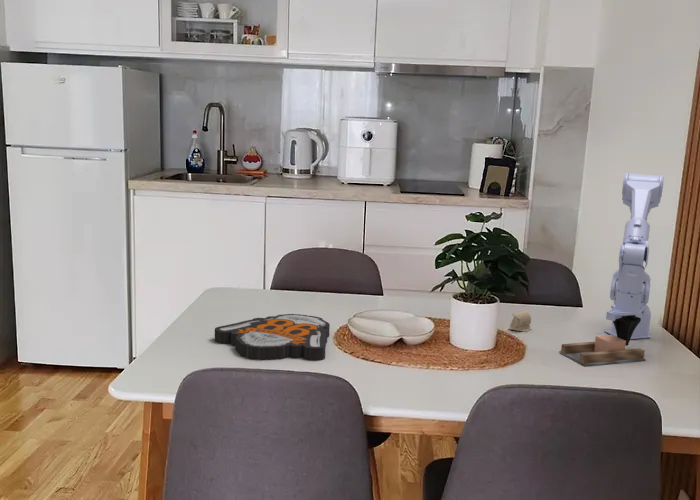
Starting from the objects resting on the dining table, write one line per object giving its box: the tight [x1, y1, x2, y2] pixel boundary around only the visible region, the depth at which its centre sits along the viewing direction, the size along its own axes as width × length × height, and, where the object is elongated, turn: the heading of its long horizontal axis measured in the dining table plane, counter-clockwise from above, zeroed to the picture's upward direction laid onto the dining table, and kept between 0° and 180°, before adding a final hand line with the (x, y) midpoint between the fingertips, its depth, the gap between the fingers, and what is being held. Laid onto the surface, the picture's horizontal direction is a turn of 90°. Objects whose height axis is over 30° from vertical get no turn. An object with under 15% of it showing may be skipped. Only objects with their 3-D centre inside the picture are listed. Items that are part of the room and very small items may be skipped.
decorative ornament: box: [507, 310, 532, 333], centre depth 195 cm, size 4×8×5 cm, turn 127°
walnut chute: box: [558, 341, 647, 368], centre depth 175 cm, size 18×10×2 cm, turn 110°
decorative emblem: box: [214, 313, 330, 362], centre depth 176 cm, size 29×3×30 cm
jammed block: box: [594, 334, 627, 352], centre depth 176 cm, size 5×5×4 cm
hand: (622, 344), depth 177 cm, fingers closed
